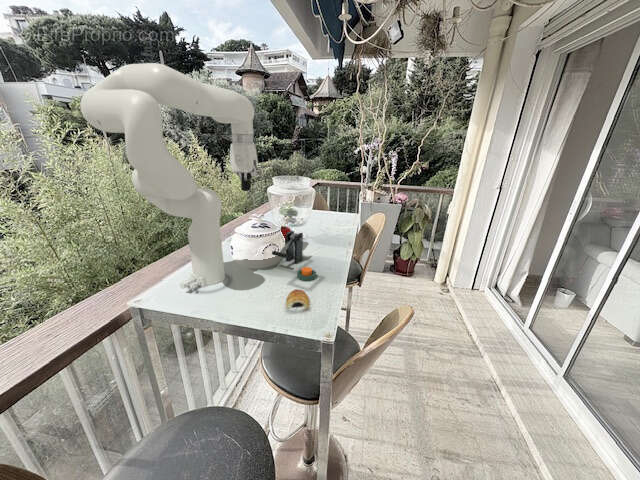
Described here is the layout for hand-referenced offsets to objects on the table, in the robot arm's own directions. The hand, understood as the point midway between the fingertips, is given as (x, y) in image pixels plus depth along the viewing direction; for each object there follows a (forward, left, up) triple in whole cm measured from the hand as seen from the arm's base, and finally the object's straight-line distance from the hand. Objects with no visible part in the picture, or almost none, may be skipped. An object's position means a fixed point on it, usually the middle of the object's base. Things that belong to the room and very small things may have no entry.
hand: (246, 190), depth 103 cm
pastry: (-21, -37, -27) cm, 51 cm away
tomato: (+20, -3, -27) cm, 34 cm away
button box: (-7, -32, -27) cm, 42 cm away
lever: (-2, -21, -19) cm, 28 cm away
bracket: (+2, -21, -27) cm, 34 cm away
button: (-7, -32, -25) cm, 41 cm away
